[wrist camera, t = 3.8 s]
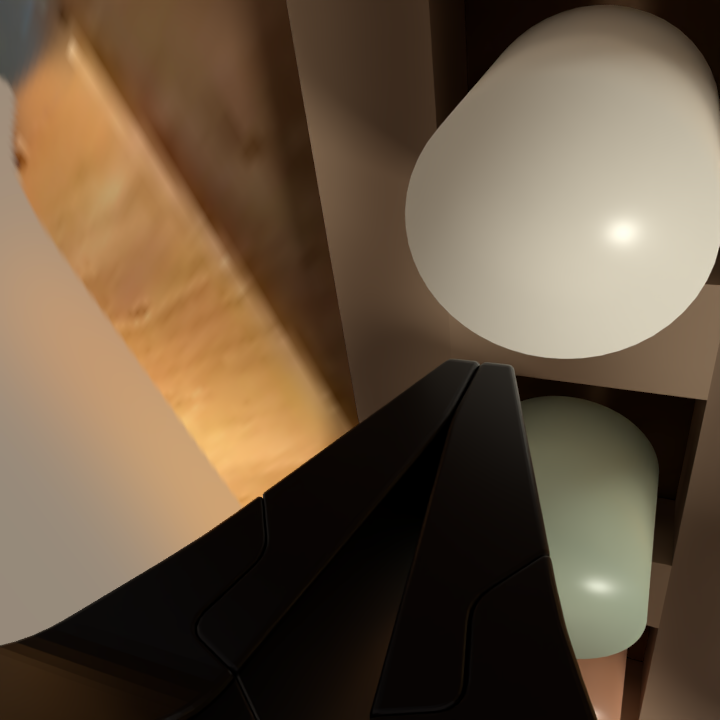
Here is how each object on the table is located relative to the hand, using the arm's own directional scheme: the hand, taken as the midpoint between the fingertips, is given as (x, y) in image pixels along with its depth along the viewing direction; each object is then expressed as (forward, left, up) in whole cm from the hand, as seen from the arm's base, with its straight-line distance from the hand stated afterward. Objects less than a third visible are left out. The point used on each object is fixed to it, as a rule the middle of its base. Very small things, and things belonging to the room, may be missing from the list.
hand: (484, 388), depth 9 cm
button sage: (0, +8, -7) cm, 11 cm away
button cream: (0, -1, -7) cm, 7 cm away
